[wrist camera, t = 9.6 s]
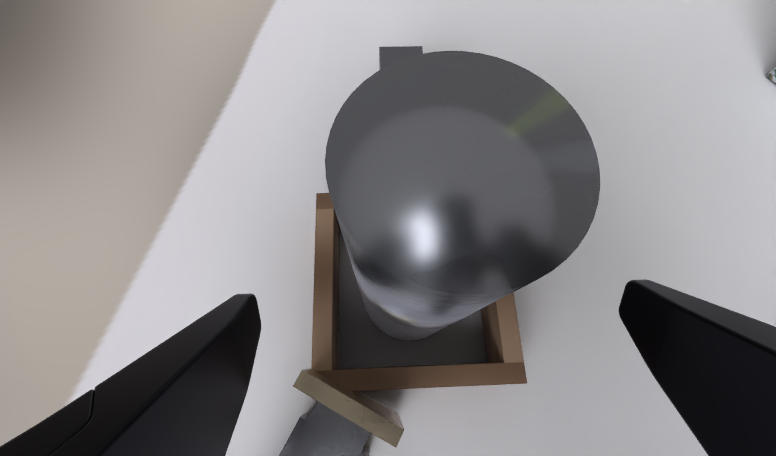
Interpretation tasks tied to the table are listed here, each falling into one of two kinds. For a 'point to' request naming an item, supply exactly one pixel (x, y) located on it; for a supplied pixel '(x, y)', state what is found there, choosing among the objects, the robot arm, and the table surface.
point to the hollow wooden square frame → (499, 369)
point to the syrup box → (772, 75)
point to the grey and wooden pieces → (337, 404)
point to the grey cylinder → (456, 186)
